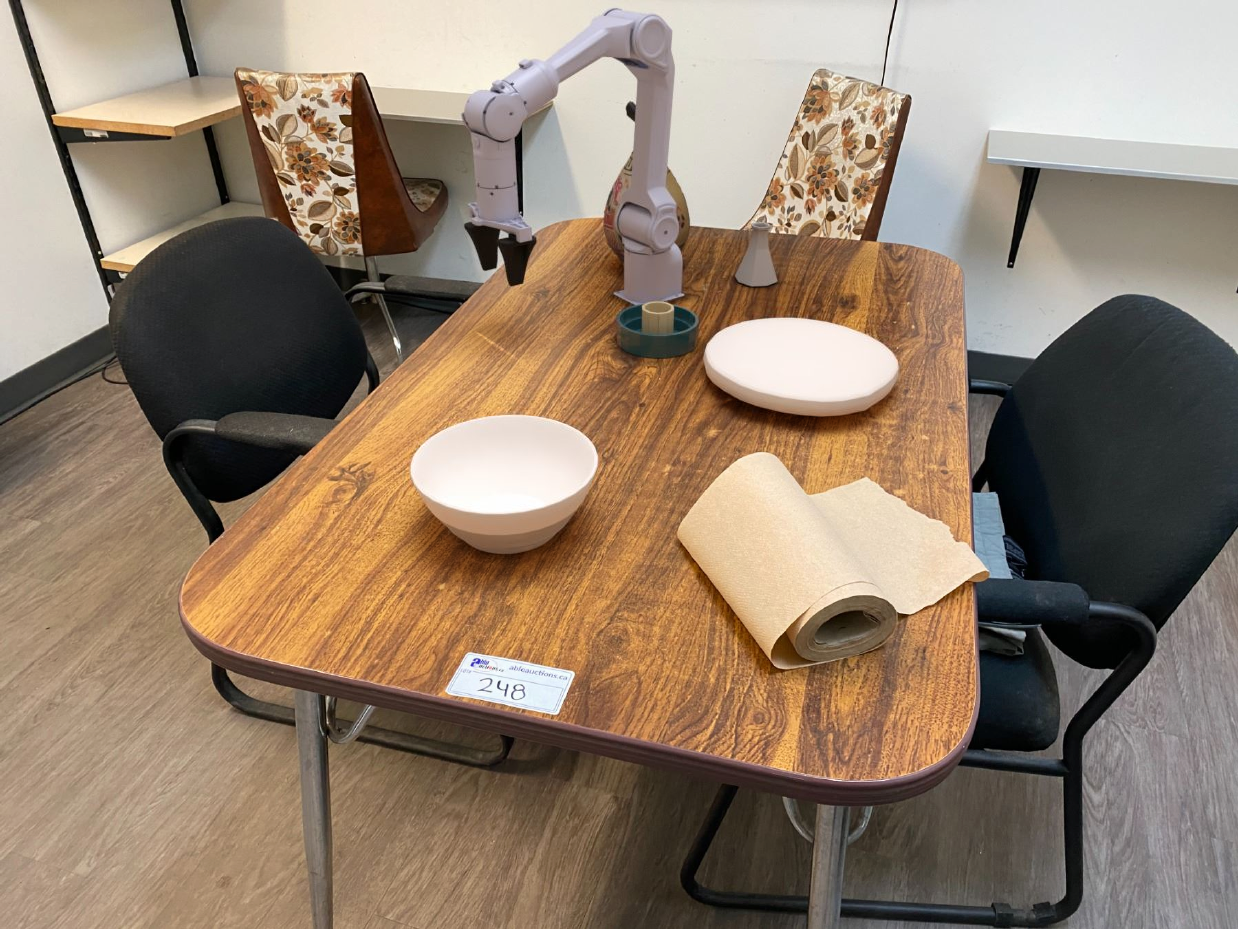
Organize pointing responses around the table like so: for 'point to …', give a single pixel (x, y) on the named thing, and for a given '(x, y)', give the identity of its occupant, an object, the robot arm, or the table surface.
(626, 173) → the ceramic jug
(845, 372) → the plate
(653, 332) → the cup
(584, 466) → the bowl
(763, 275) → the flask
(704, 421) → the table surface
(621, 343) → the teal bowl
